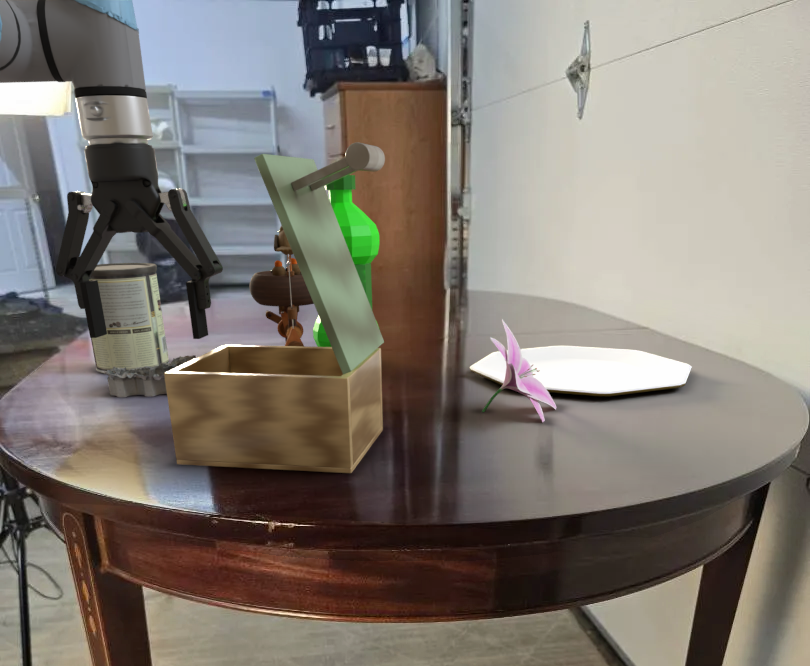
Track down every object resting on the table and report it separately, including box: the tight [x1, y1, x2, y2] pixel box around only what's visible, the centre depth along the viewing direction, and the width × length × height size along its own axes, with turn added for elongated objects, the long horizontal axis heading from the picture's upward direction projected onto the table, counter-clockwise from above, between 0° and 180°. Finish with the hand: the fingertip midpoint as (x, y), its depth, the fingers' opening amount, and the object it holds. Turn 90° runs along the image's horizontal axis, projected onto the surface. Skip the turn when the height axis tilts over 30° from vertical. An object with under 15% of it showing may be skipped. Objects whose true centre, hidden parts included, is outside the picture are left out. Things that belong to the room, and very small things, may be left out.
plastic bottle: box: [312, 174, 381, 347], centre depth 111 cm, size 10×10×25 cm
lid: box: [253, 141, 386, 374], centre depth 67 cm, size 18×14×8 cm
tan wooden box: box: [164, 344, 384, 474], centre depth 74 cm, size 17×14×9 cm
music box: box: [249, 225, 314, 346], centre depth 97 cm, size 15×11×20 cm
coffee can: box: [89, 262, 170, 374], centre depth 108 cm, size 10×10×14 cm
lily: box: [481, 319, 557, 423], centre depth 84 cm, size 12×12×10 cm
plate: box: [469, 345, 693, 397], centre depth 103 cm, size 28×28×2 cm
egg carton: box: [104, 354, 197, 398], centre depth 97 cm, size 11×8×4 cm
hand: (149, 336), depth 95 cm, fingers open, 13 cm apart
